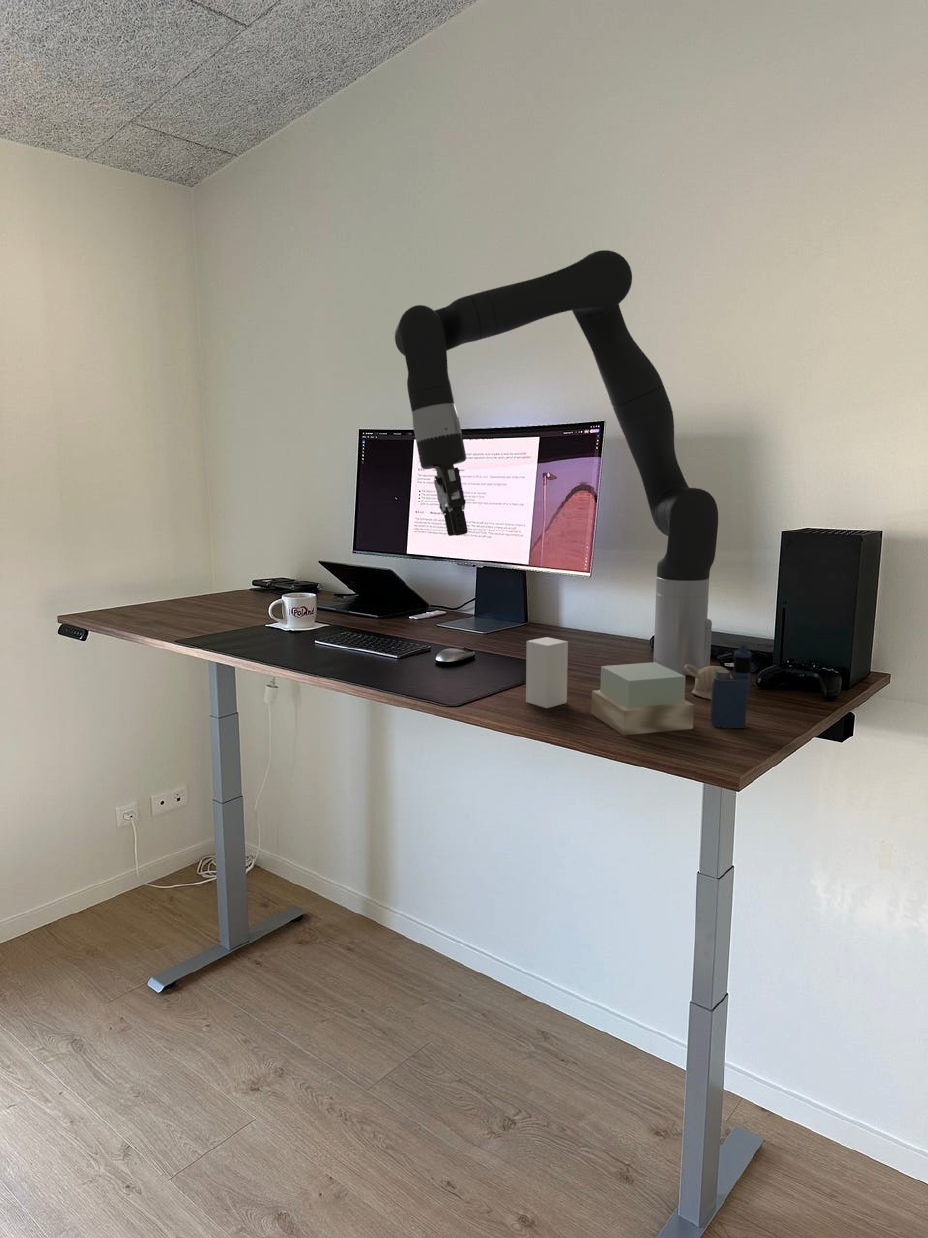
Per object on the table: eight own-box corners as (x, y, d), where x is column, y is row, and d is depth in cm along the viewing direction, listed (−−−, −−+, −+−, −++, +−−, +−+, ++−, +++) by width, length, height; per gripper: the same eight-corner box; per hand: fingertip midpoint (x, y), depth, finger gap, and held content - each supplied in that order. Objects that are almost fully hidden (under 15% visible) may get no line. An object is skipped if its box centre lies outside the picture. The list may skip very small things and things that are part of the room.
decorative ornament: (736, 701, 136) (738, 669, 135) (683, 698, 138) (684, 666, 137) (734, 694, 140) (736, 663, 139) (682, 692, 142) (683, 660, 141)
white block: (545, 696, 139) (546, 637, 137) (566, 702, 136) (567, 641, 134) (525, 702, 136) (526, 641, 134) (546, 708, 133) (547, 645, 131)
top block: (653, 687, 131) (654, 662, 130) (684, 703, 122) (685, 676, 122) (600, 691, 128) (601, 666, 128) (627, 708, 120) (628, 681, 119)
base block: (656, 710, 133) (657, 685, 132) (692, 731, 122) (694, 704, 122) (591, 716, 130) (591, 690, 129) (623, 738, 119) (624, 710, 119)
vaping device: (748, 730, 122) (753, 648, 119) (710, 727, 123) (715, 646, 120) (746, 724, 124) (751, 644, 122) (709, 722, 125) (713, 642, 123)
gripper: (467, 426, 131) (486, 530, 133) (455, 437, 145) (473, 530, 147) (419, 435, 130) (440, 539, 132) (412, 445, 144) (431, 539, 146)
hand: (457, 534), depth 139 cm, fingers open, 8 cm apart
